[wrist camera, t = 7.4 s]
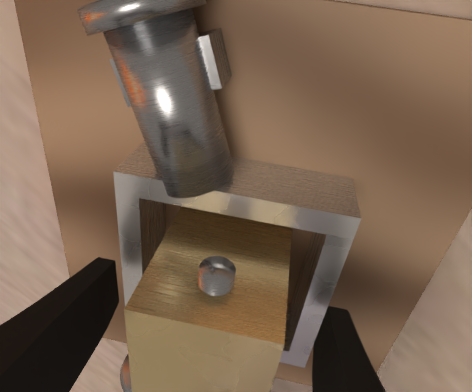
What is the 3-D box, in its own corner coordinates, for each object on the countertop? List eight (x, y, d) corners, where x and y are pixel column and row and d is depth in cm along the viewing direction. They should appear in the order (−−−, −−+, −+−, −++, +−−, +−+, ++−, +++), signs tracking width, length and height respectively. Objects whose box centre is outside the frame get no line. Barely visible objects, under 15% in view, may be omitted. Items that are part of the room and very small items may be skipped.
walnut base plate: (359, 383, 20) (361, 397, 19) (88, 321, 21) (81, 332, 20) (554, 31, 10) (572, 34, 9) (23, -43, 11) (5, -44, 11)
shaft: (252, 151, 12) (237, 199, 10) (170, 163, 13) (135, 210, 11) (212, -23, 10) (177, -24, 7) (113, 5, 11) (49, 14, 8)
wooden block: (273, 288, 16) (257, 433, 11) (187, 270, 16) (133, 403, 11) (295, 196, 13) (288, 331, 8) (191, 176, 13) (122, 295, 8)
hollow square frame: (305, 318, 16) (304, 367, 14) (149, 284, 17) (126, 327, 15) (352, 177, 12) (361, 218, 10) (144, 140, 13) (113, 171, 11)
